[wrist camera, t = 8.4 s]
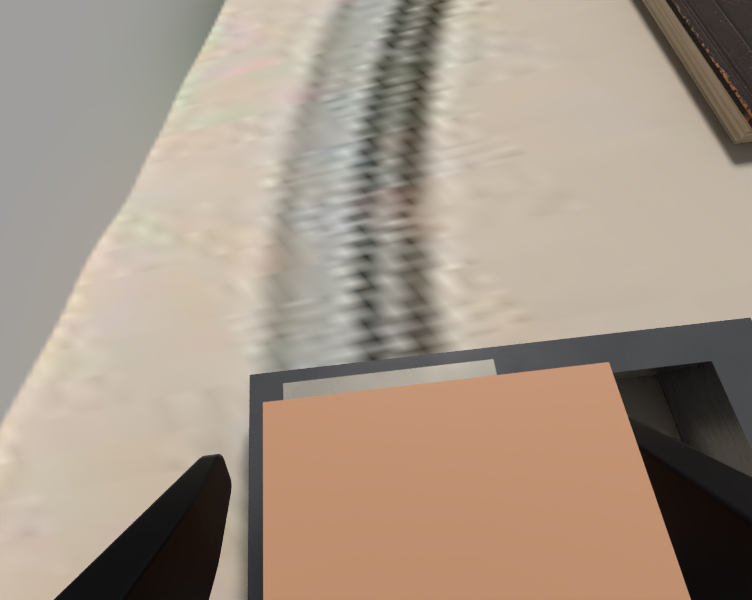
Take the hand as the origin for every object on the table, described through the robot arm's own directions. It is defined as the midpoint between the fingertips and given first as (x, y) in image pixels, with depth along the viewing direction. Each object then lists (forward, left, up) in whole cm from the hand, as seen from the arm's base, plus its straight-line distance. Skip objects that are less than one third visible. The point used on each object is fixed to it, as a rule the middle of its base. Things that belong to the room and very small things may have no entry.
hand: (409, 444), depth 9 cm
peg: (0, -1, -8) cm, 8 cm away
